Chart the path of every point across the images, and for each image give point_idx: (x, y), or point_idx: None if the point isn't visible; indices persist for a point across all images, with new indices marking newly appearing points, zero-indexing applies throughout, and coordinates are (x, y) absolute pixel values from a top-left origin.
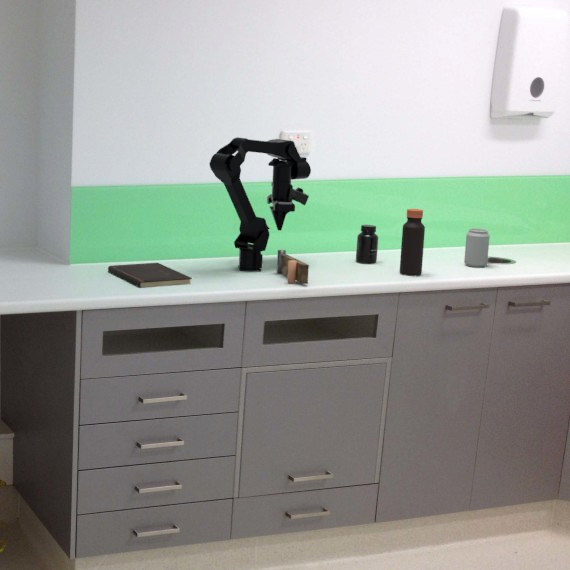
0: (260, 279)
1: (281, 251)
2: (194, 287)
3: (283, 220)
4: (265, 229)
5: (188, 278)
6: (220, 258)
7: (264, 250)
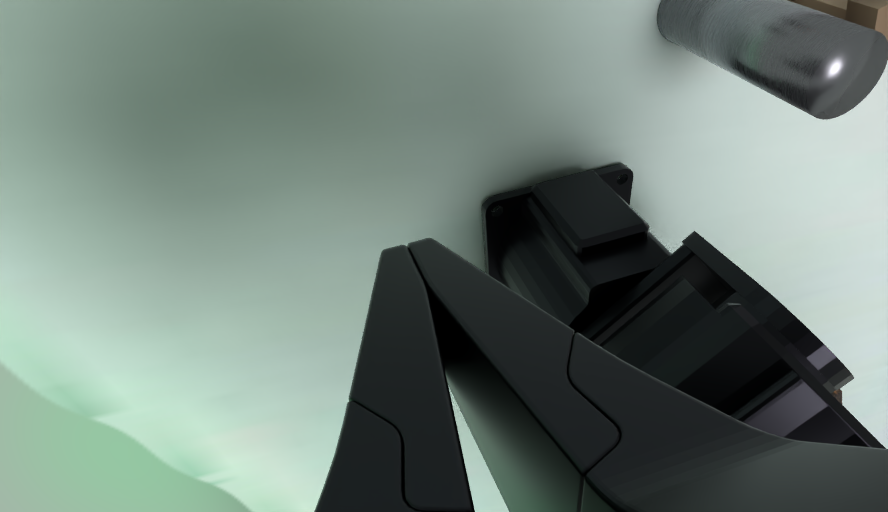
0: (836, 135)
1: (876, 76)
2: (881, 350)
3: (580, 346)
4: (826, 392)
5: (841, 397)
6: (217, 449)
7: (697, 235)
